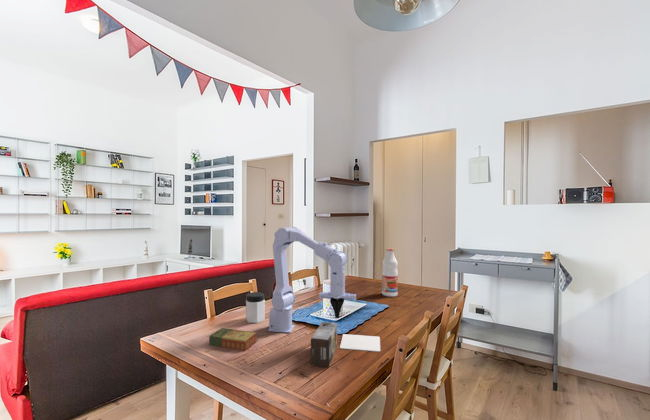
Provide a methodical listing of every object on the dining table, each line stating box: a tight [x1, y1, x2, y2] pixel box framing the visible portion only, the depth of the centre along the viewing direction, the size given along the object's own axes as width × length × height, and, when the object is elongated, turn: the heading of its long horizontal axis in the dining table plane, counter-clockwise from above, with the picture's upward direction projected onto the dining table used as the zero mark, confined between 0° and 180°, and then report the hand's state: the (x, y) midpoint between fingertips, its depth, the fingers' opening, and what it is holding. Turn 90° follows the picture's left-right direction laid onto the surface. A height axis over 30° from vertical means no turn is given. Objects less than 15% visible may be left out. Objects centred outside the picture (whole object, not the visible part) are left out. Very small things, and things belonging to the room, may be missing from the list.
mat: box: [339, 333, 381, 353], centre depth 123 cm, size 15×13×1 cm
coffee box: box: [310, 321, 338, 368], centre depth 112 cm, size 9×6×16 cm
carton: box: [208, 327, 258, 352], centre depth 121 cm, size 8×16×4 cm, turn 73°
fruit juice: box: [381, 247, 399, 297], centre depth 191 cm, size 9×9×28 cm
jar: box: [245, 291, 266, 324], centre depth 146 cm, size 9×8×12 cm
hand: (337, 317), depth 124 cm, fingers closed
